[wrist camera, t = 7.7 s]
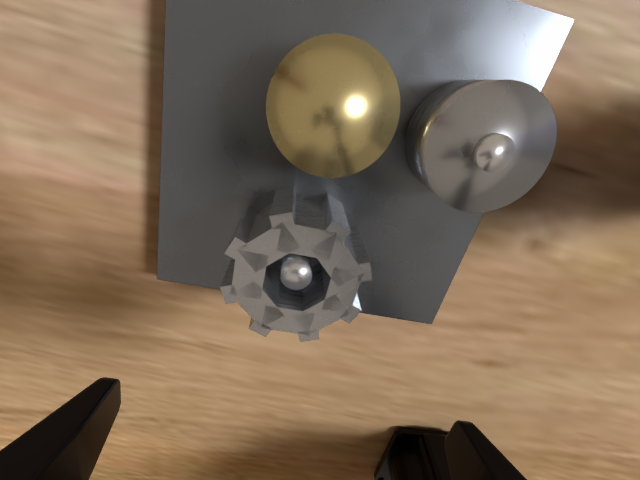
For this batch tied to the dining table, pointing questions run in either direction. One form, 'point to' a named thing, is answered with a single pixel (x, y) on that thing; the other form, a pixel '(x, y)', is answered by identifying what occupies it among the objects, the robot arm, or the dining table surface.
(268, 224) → the planet gear
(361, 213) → the plate
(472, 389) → the dining table surface
